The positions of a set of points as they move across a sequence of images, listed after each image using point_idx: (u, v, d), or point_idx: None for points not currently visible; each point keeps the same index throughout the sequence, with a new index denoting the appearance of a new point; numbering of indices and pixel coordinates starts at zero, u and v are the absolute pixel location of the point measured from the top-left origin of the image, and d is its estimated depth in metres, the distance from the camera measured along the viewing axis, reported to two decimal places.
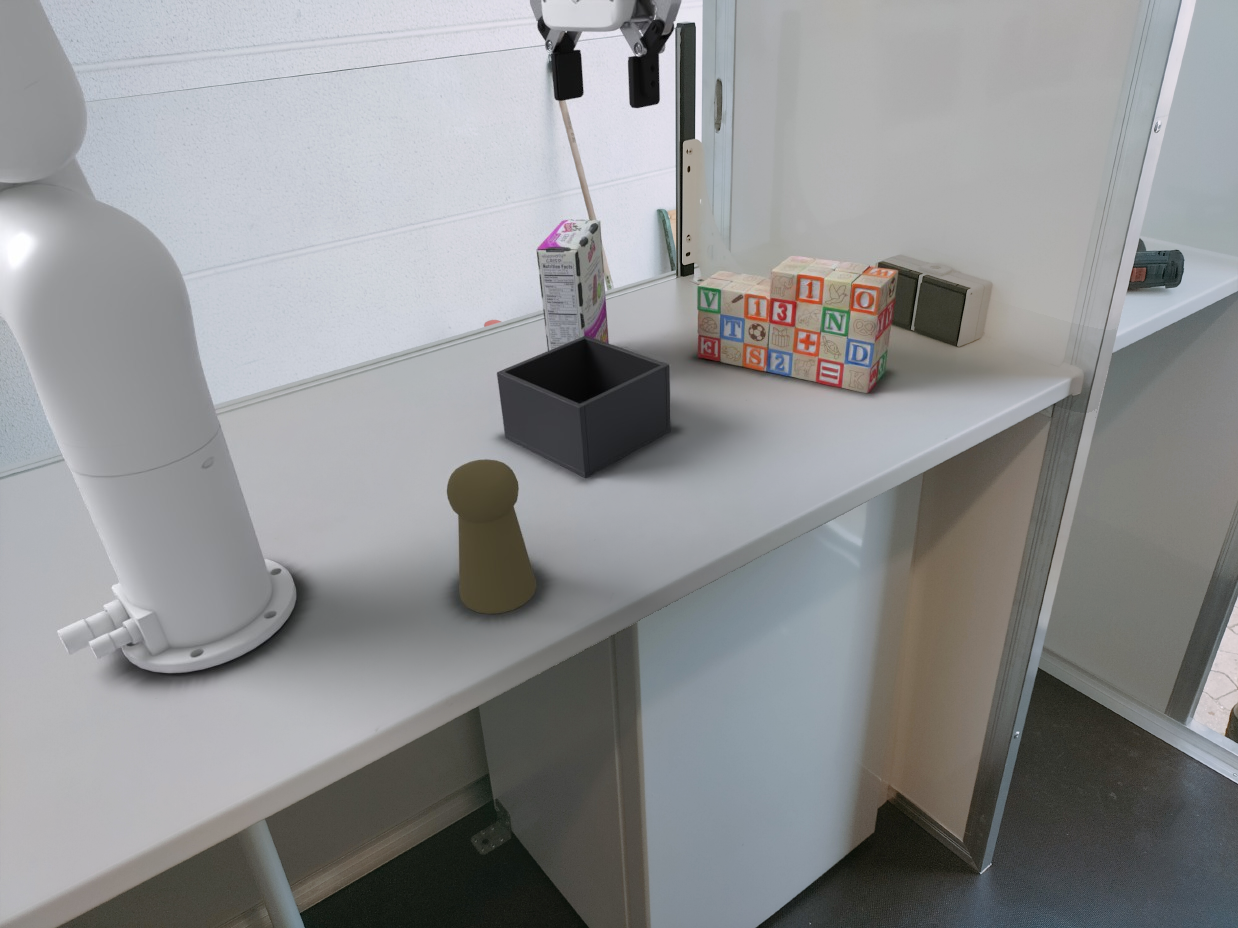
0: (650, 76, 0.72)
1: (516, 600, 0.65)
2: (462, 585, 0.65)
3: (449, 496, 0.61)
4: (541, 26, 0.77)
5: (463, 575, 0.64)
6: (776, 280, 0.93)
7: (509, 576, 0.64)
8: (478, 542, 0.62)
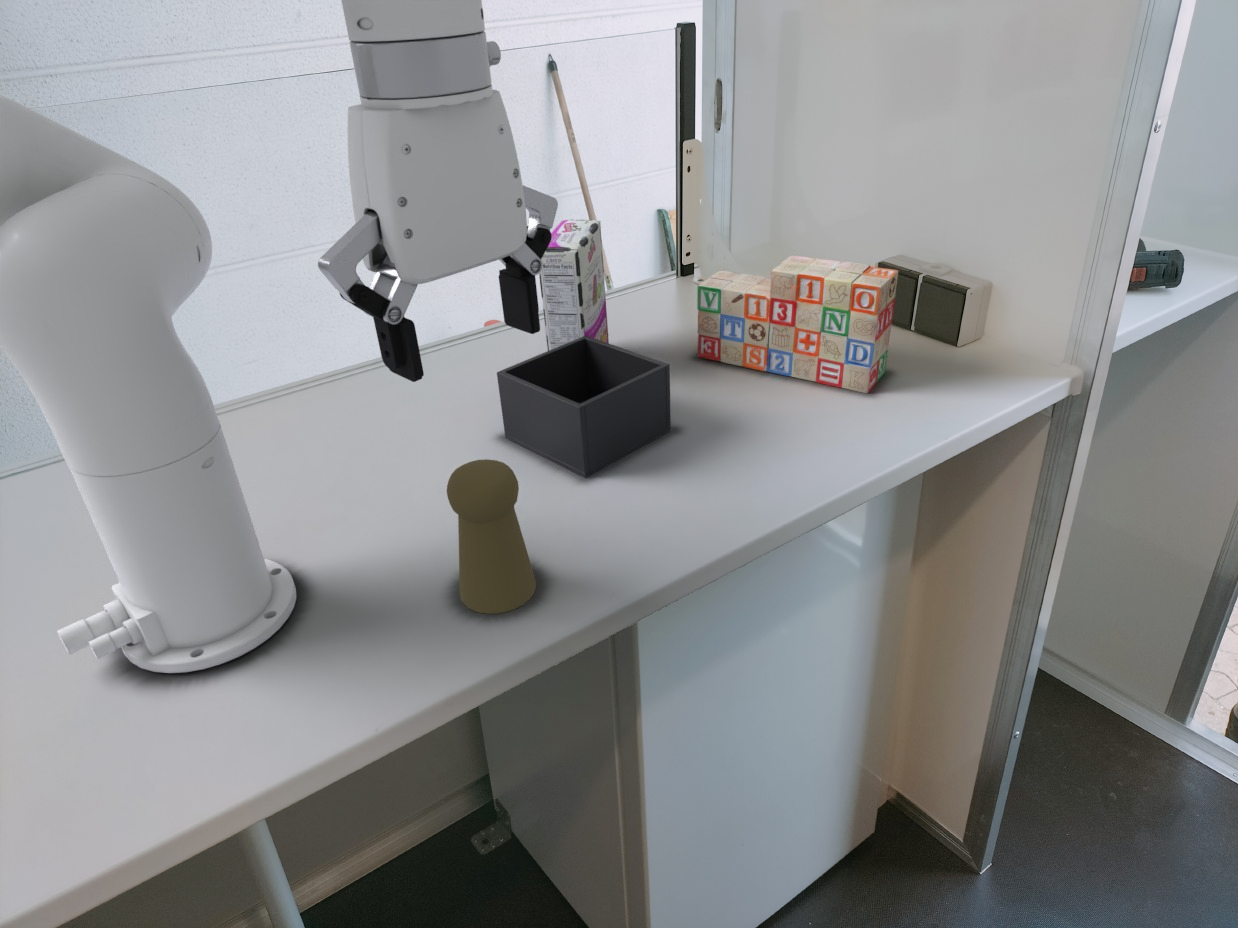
0: (383, 343, 0.53)
1: (516, 600, 0.65)
2: (462, 585, 0.65)
3: (449, 496, 0.61)
4: None
5: (463, 575, 0.64)
6: (777, 280, 0.93)
7: (509, 576, 0.64)
8: (478, 542, 0.62)
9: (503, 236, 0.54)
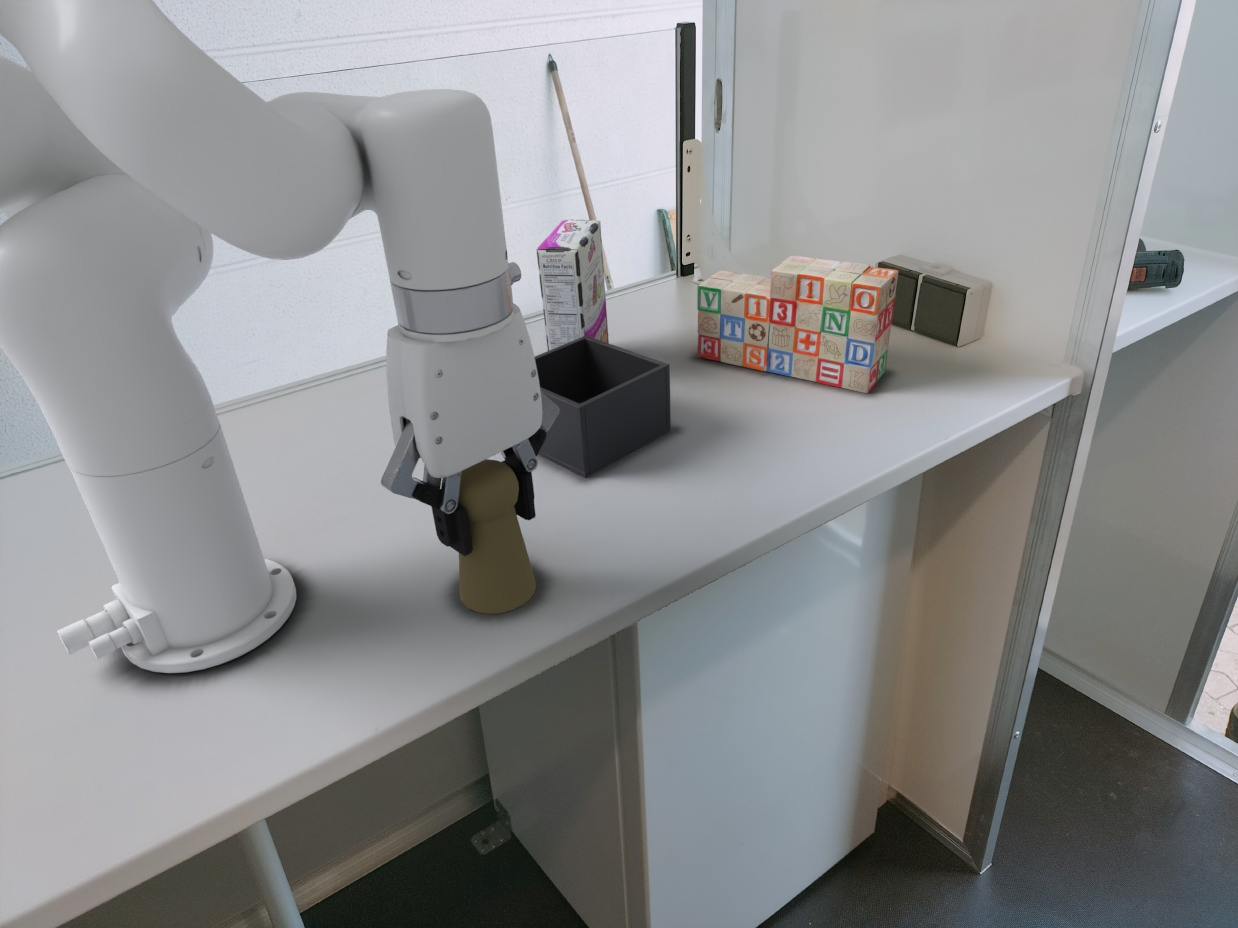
0: (438, 524, 0.61)
1: (516, 600, 0.65)
2: (462, 585, 0.65)
3: None
4: None
5: (463, 575, 0.64)
6: (777, 280, 0.93)
7: (509, 576, 0.64)
8: (479, 542, 0.62)
9: (521, 426, 0.60)
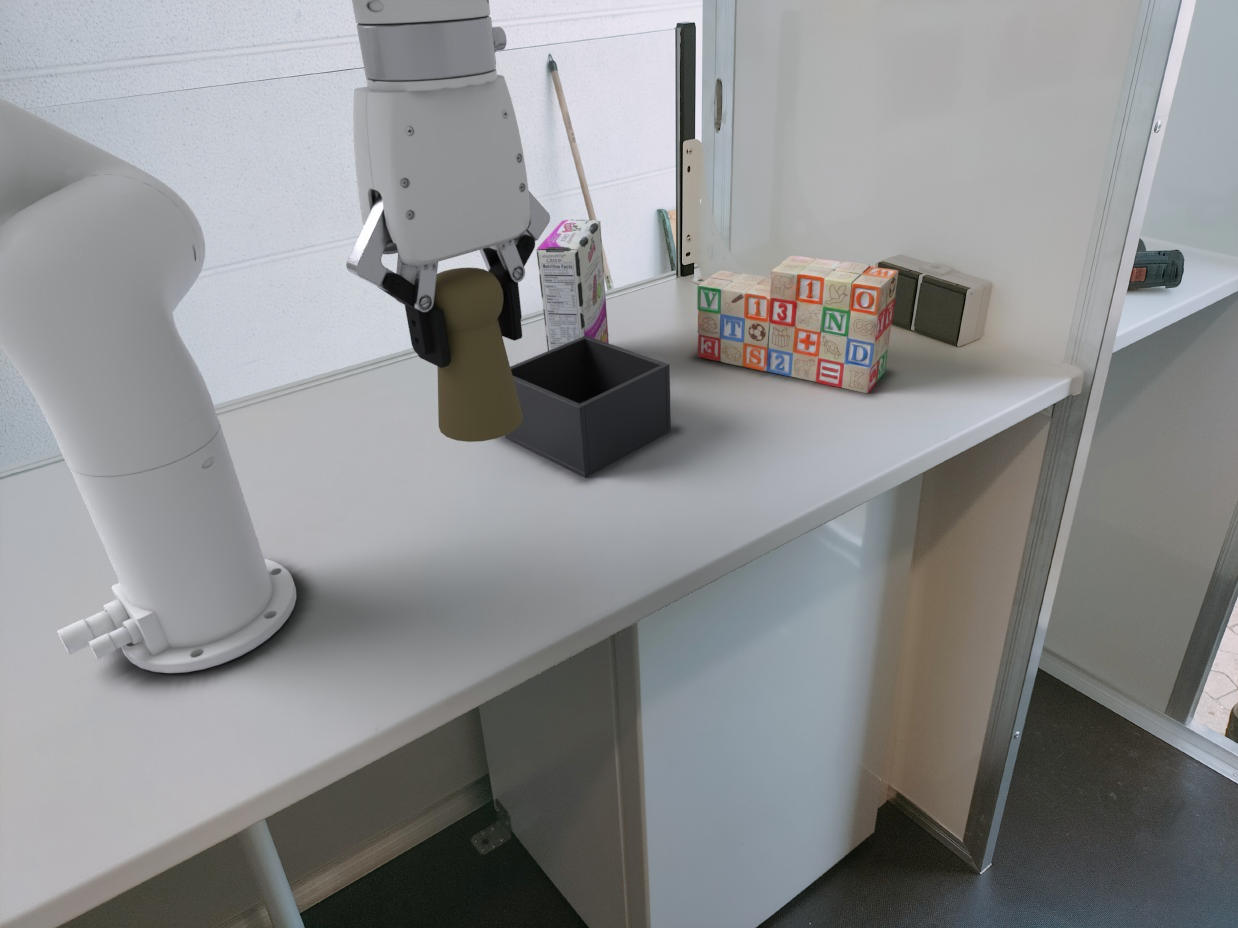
0: (413, 330, 0.55)
1: (499, 428, 0.59)
2: (441, 411, 0.59)
3: None
4: None
5: (442, 399, 0.59)
6: (777, 280, 0.93)
7: (492, 398, 0.58)
8: (458, 355, 0.56)
9: (505, 220, 0.54)
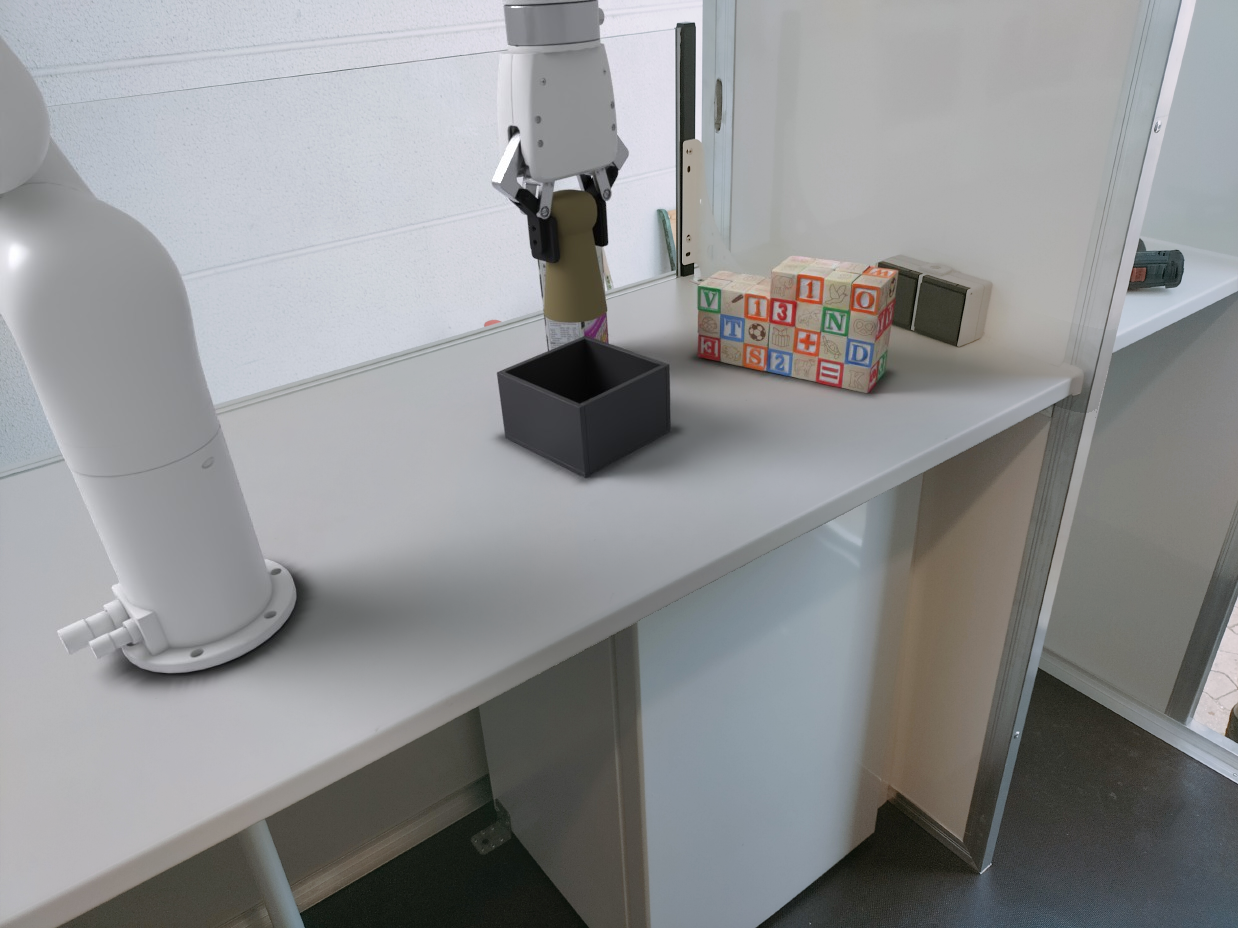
0: (533, 235, 0.74)
1: (593, 312, 0.78)
2: (548, 301, 0.78)
3: None
4: None
5: (549, 290, 0.78)
6: (777, 280, 0.93)
7: (588, 288, 0.77)
8: (564, 254, 0.75)
9: (601, 151, 0.73)
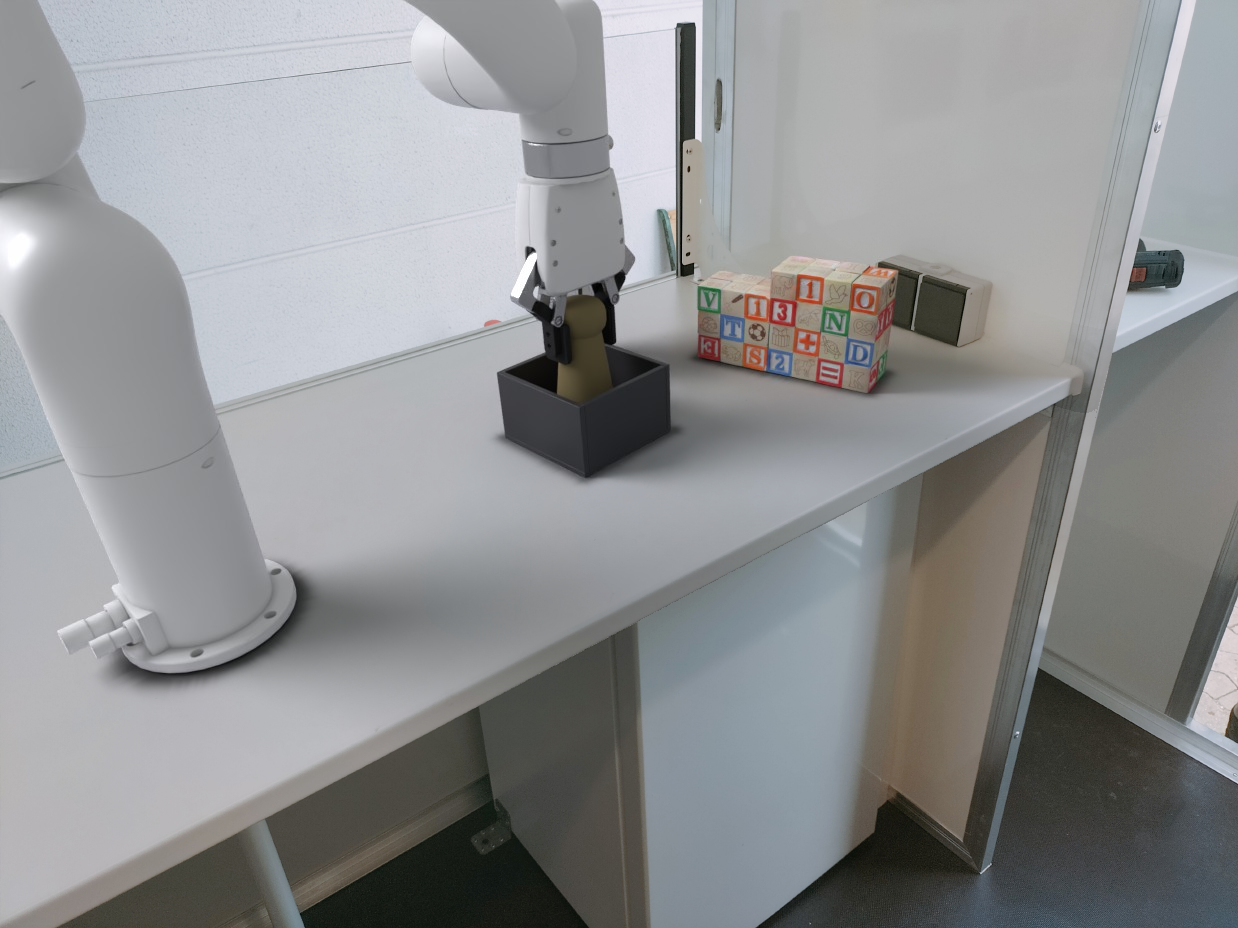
0: (547, 339, 0.80)
1: None
2: (560, 395, 0.84)
3: None
4: None
5: (561, 386, 0.84)
6: (776, 280, 0.93)
7: (598, 385, 0.83)
8: (576, 355, 0.81)
9: (610, 263, 0.79)
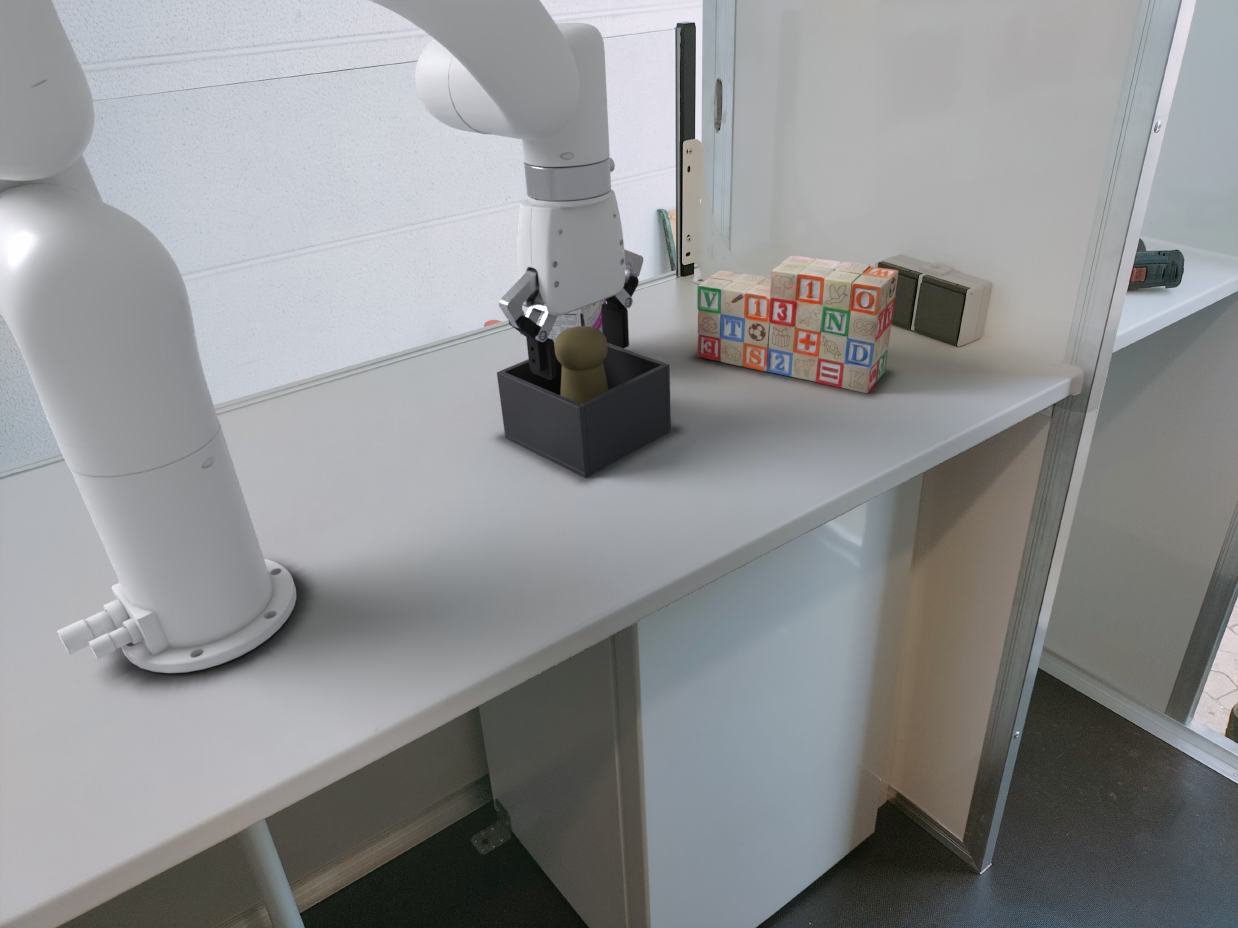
0: (531, 354, 0.79)
1: None
2: None
3: (557, 350, 0.82)
4: None
5: None
6: (777, 280, 0.93)
7: None
8: (578, 386, 0.83)
9: (611, 283, 0.80)
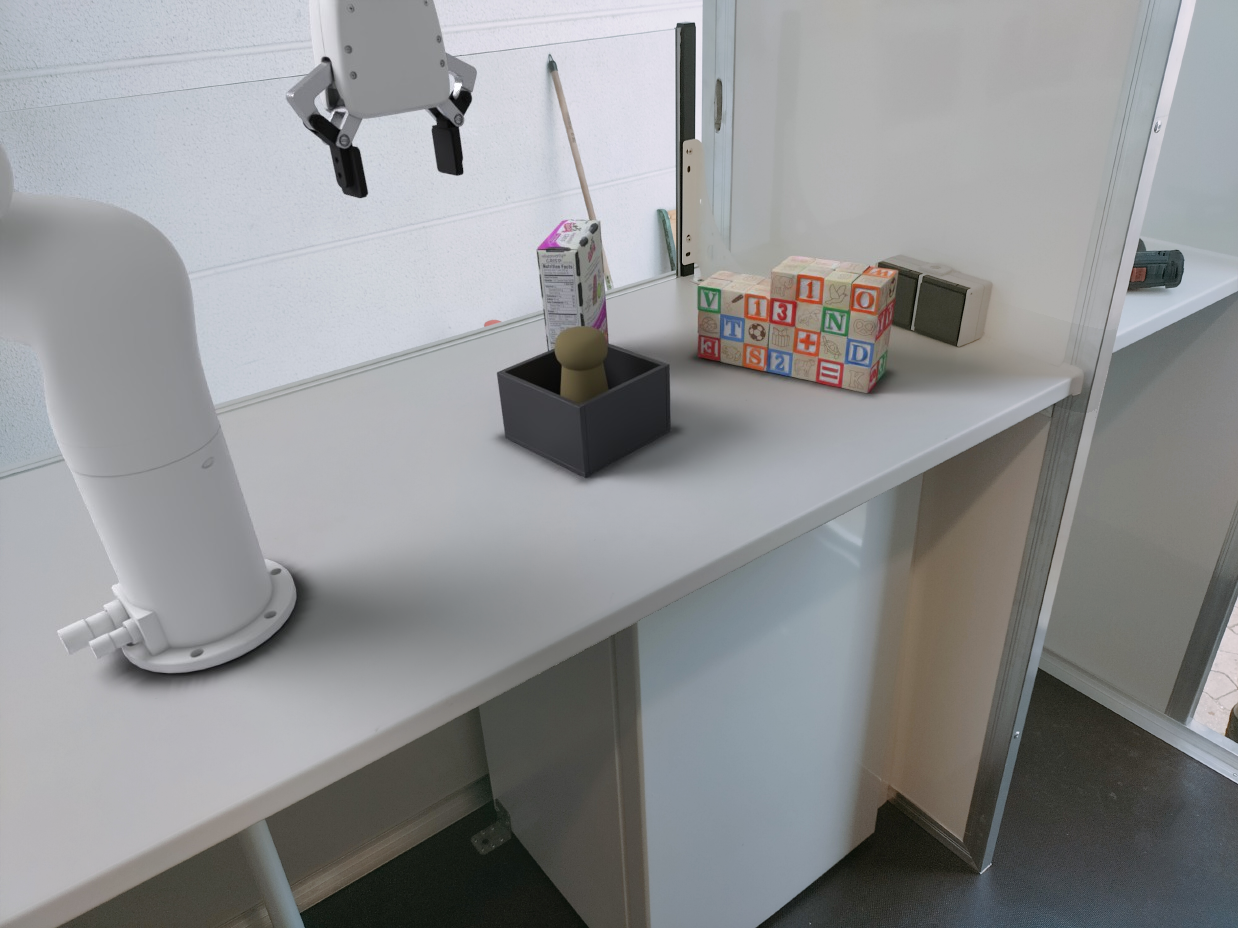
0: (337, 167, 0.69)
1: None
2: None
3: (557, 350, 0.82)
4: None
5: None
6: (776, 280, 0.93)
7: None
8: (578, 386, 0.83)
9: (429, 88, 0.70)
